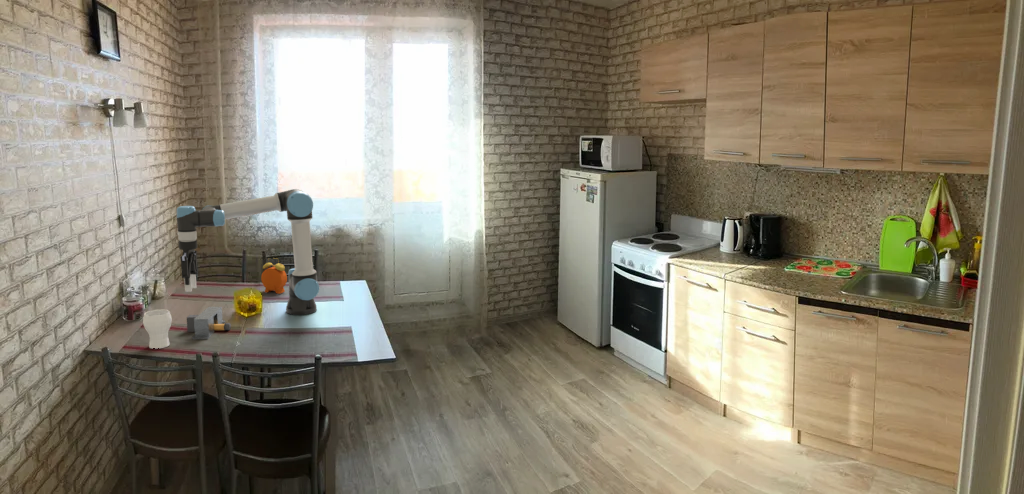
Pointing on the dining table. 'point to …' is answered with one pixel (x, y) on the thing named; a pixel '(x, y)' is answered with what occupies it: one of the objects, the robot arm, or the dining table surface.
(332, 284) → the dining table surface
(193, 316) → the hammer
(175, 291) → the dining table surface
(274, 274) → the alarm clock
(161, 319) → the cup
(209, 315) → the housing
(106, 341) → the dining table surface
